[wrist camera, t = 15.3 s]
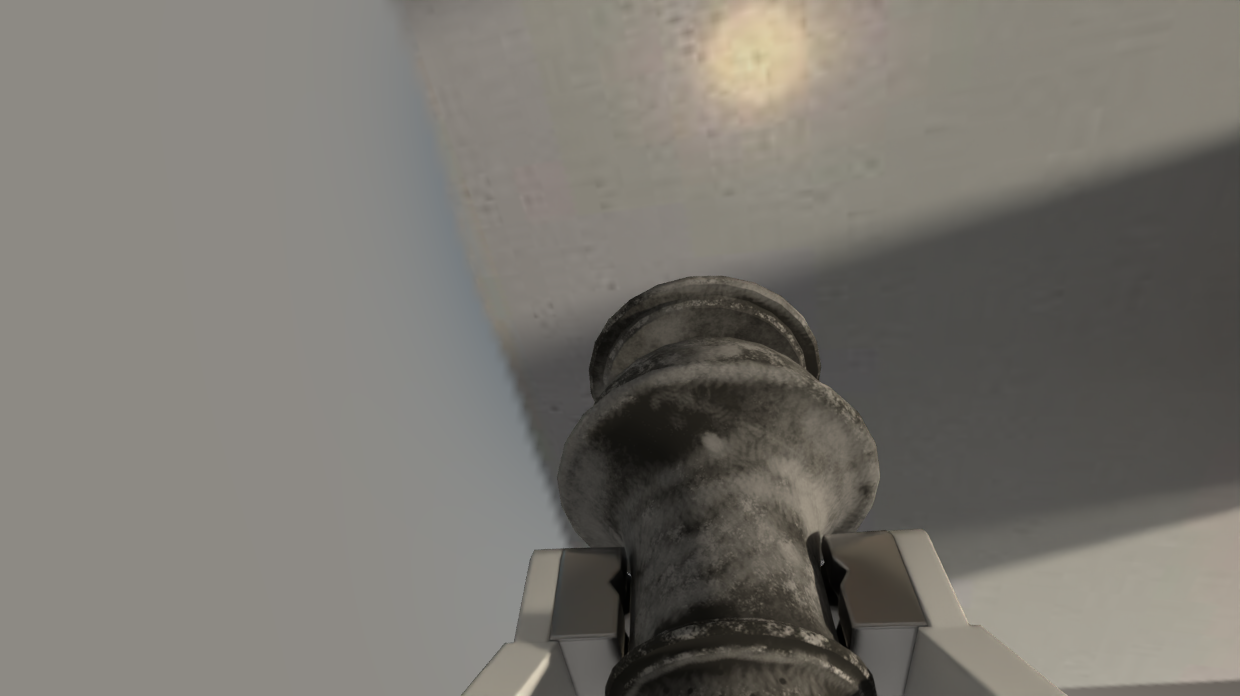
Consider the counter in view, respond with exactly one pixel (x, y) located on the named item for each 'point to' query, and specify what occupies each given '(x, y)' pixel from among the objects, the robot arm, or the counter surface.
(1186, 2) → the counter surface
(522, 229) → the counter surface
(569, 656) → the robot arm
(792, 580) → the grey stone turned figure
